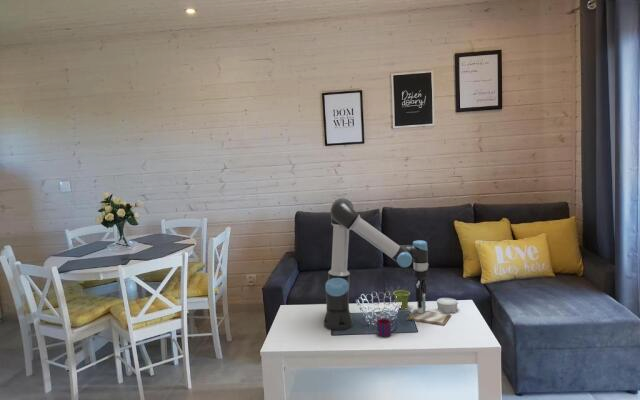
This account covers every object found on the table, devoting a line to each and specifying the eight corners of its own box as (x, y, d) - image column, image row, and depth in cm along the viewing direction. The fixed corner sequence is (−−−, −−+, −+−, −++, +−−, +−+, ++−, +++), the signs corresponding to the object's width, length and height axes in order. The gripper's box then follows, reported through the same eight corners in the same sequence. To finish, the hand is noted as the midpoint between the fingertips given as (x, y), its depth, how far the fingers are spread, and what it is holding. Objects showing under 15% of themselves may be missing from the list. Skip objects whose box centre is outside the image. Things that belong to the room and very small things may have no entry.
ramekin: (457, 307, 248) (457, 298, 248) (458, 314, 238) (458, 304, 237) (436, 306, 251) (436, 297, 251) (436, 313, 241) (436, 304, 240)
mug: (376, 332, 220) (376, 318, 219) (396, 331, 219) (396, 318, 218) (377, 337, 213) (377, 324, 212) (398, 337, 212) (398, 323, 212)
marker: (417, 312, 240) (417, 294, 239) (419, 310, 243) (419, 292, 241) (423, 313, 238) (423, 295, 237) (425, 311, 241) (425, 293, 240)
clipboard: (406, 320, 233) (405, 317, 233) (414, 310, 246) (414, 308, 246) (444, 325, 223) (444, 323, 223) (451, 315, 236) (451, 313, 236)
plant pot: (400, 303, 258) (399, 289, 257) (413, 307, 251) (413, 292, 250) (390, 308, 252) (389, 293, 251) (403, 312, 245) (403, 296, 244)
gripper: (423, 274, 229) (424, 317, 231) (431, 266, 243) (432, 307, 245) (409, 272, 232) (410, 315, 235) (418, 265, 247) (419, 305, 249)
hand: (421, 311), depth 240 cm, fingers closed on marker, 3 cm apart
